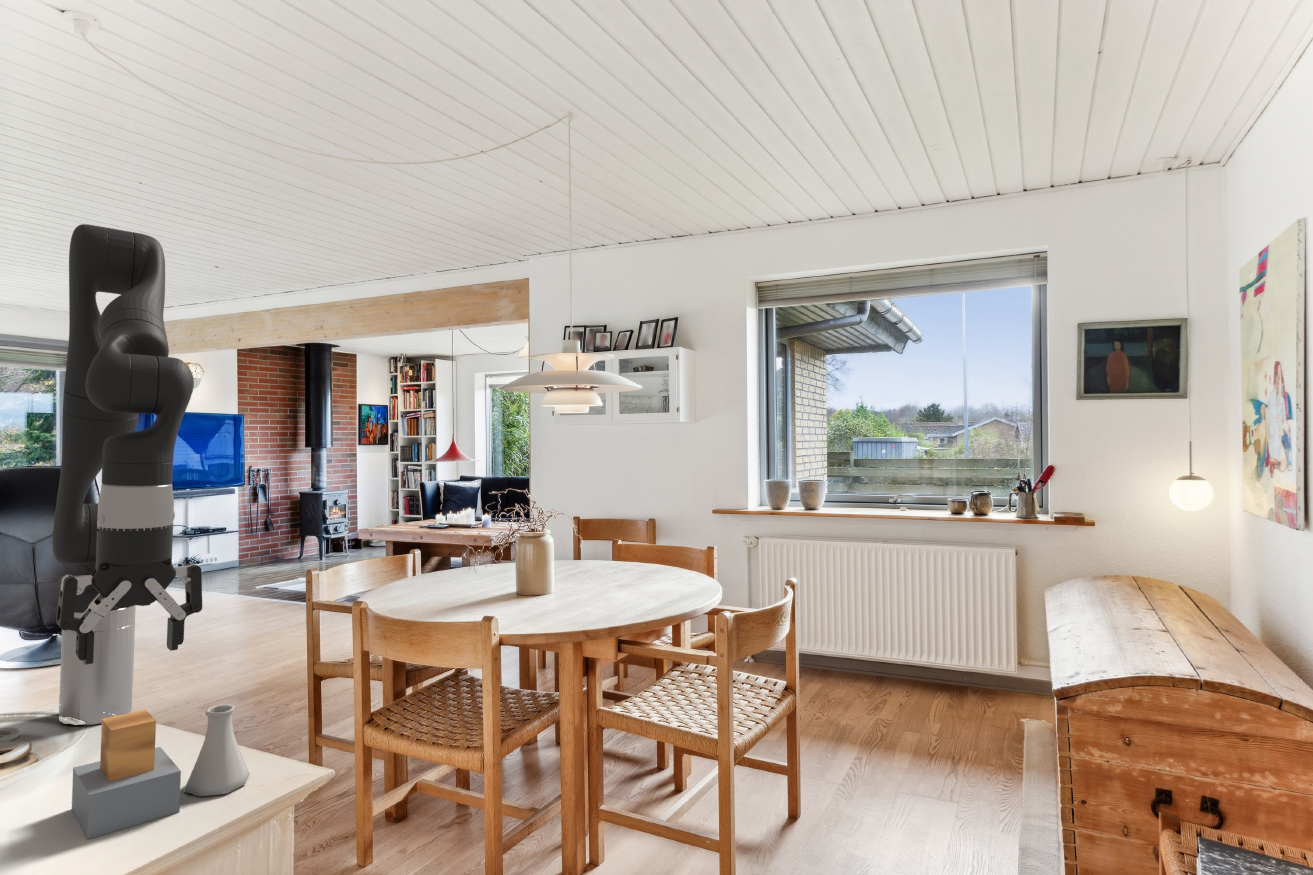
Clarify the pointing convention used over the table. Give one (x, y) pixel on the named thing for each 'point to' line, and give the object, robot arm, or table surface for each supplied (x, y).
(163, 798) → the pedestal
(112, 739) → the orange block
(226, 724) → the flask
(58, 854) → the table surface
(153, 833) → the table surface
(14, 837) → the table surface
